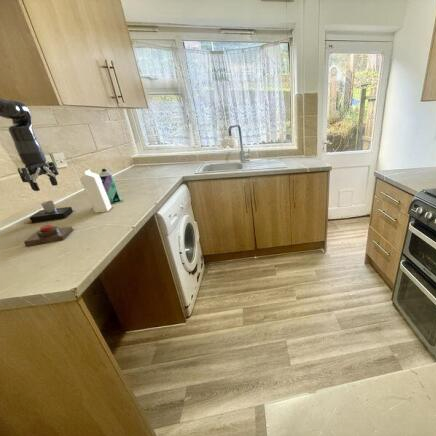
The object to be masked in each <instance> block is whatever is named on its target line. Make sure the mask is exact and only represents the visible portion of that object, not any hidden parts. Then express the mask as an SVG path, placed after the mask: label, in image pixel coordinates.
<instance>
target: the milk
mask: <svg viewBox="0 0 436 436" xmlns="http://www.w3.org/2000/svg"><path fill="white" fill-rule="evenodd" d="M80 182H81V184H82V187H83V188H84V191H85V194H86V195H87V199H88V200H89V203H90V204H91V207H92V209H93V212H94V213H95V214H96V213H105V212H109V211H110V210H111V208H112V203H110V200H109V198H108V195H107V193H106V190H105V188H104V185H103V183H102V180H101V178H100V175H99V173H95V172H93V171H91V169H90V168H89V169H87V170H85V171H84V175H83V176H81V178H80Z"/></svg>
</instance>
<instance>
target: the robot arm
mask: <svg viewBox="0 0 436 436" xmlns="http://www.w3.org/2000/svg"><path fill="white" fill-rule="evenodd" d="M0 117H1V118H4V119H8V120H11V122H12V124H11V125H10V126H8V133H9V134H10V137H11V140H12V141H13V144H14V147H15V150H16V152H17V155H18V156H19V159H20V161H21V163H22V164H23V165H24V167H18V168H17V172H18V175H19V177H20V179H21V181H22V183H28V184H29V186H30V188H31V190H32V191H34V192H39V191H41V189H40V187H39V184H38V182H37V179H38V178H39V176H42V175H45V176H46V177H48V180H49V182H50V184H51V186H55V187H56V186H58V180H57V176H59V174H60V173H59V171H58V169H57V166H56V164H55V163H54V162H53V161H51V162H50V161H49V162H47V158H46V156H45V153H44V151H43V148H42V146H41V144H40V142H39V141H38V139H37V136H36V134H35V132H34V130H33V120H32V114H31V111H30V109H29V107H28V106H27V105H26V104H25V103H24V102H22V101H21V100H17V99H8V98H7V99H6V98H2V97H0Z"/></svg>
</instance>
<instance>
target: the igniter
mask: <svg viewBox="0 0 436 436" xmlns="http://www.w3.org/2000/svg"><path fill="white" fill-rule="evenodd" d="M52 227H53V230H50V231H47V232H41V230H40V229H38V230H37V231H35V232H34V233H33V234H32V235H30V236H29V237H28V238H26V239H25V240H24V241H23V243H24V245H25V247H26V248H27V247H32V246H38V245H39V246H40V245H45V244H50V243H56V242H61V241H65V239H66V238H67V237H68V236H69V235H70V234H71V233H72V232H73V231H74V229H73V227H72V226H63V227H58V226H54V225H52Z"/></svg>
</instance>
